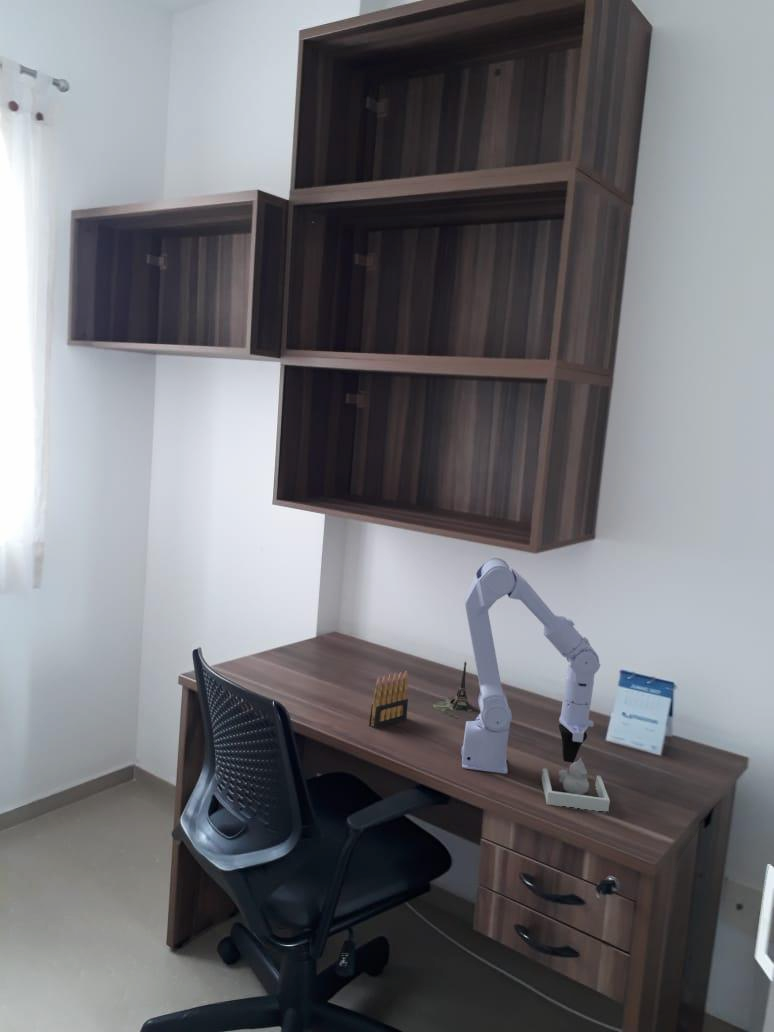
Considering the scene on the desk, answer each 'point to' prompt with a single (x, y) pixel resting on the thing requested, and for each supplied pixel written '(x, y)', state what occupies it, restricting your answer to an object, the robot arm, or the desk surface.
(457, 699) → the eiffel tower figurine
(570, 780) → the rubber duck
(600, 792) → the bay
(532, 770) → the desk surface
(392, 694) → the ammunition clip
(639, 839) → the desk surface
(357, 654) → the desk surface
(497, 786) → the desk surface
